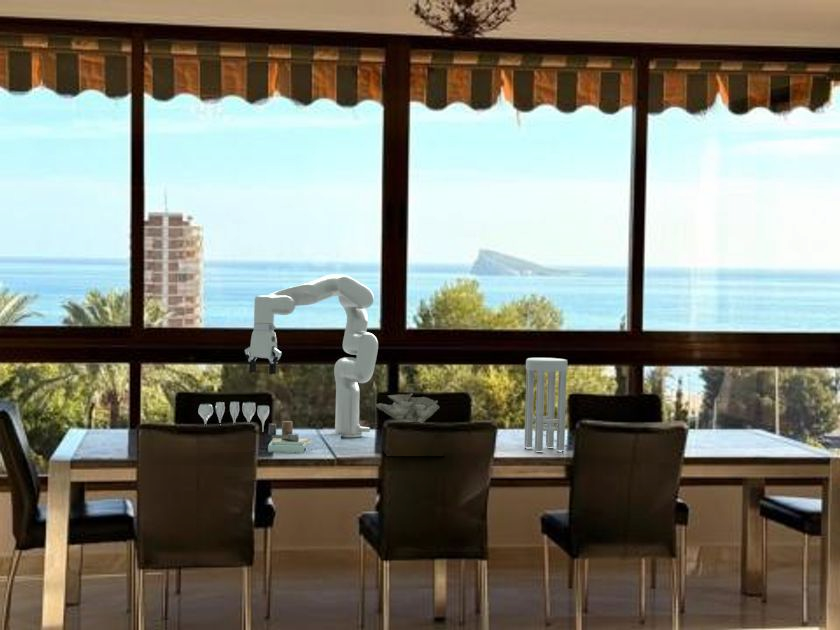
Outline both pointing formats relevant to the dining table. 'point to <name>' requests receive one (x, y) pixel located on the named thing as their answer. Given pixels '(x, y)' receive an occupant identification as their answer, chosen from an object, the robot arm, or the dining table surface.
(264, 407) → the goblet set
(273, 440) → the plate
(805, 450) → the dining table surface
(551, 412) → the stool
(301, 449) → the tray
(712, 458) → the dining table surface
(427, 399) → the coral
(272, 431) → the crank
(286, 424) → the peg
